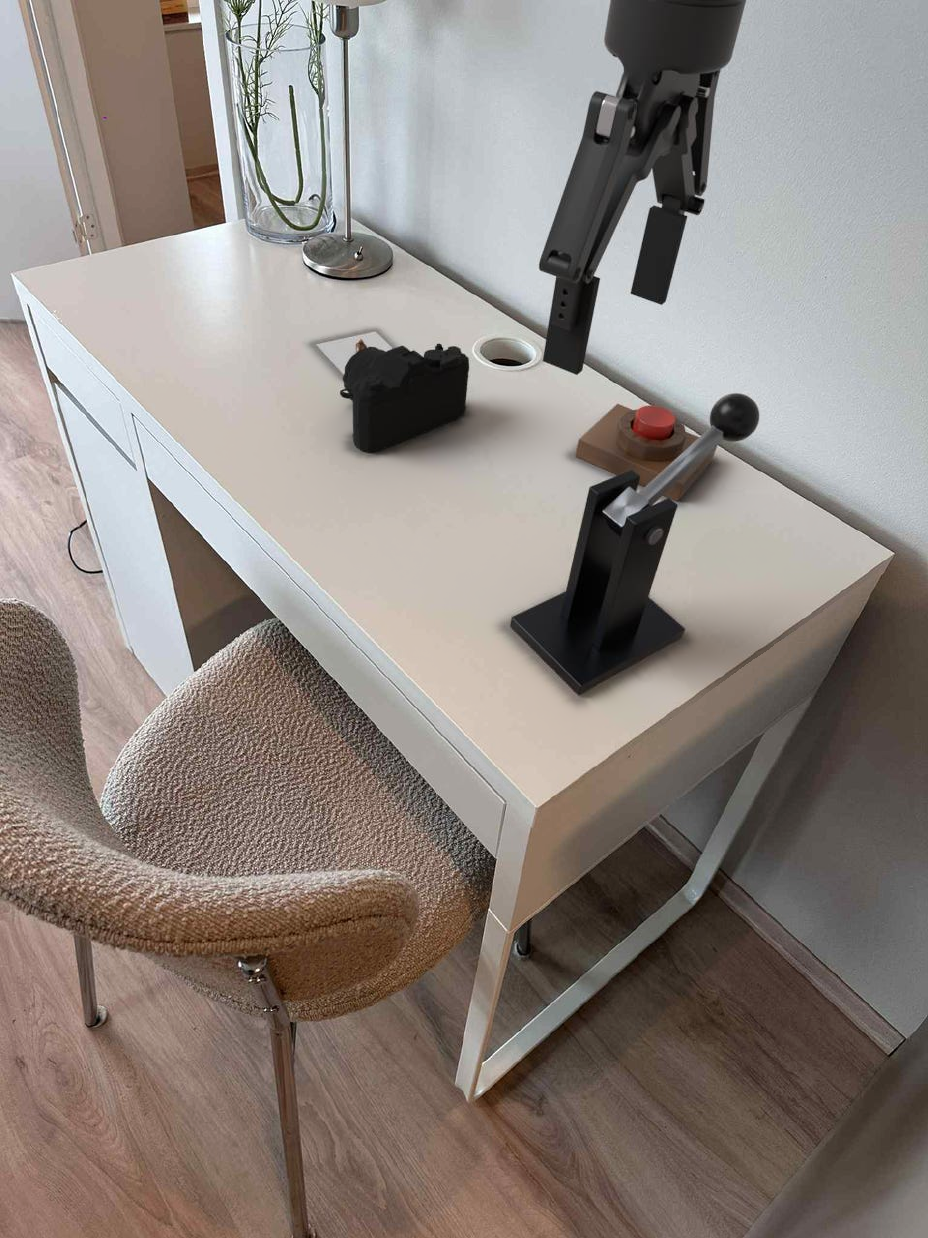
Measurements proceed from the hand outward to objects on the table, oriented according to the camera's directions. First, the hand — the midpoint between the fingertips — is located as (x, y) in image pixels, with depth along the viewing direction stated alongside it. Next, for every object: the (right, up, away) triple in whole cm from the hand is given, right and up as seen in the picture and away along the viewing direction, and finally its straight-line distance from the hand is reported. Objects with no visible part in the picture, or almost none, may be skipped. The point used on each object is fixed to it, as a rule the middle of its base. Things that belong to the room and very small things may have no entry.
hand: (607, 330), depth 65 cm
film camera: (-18, +1, +32) cm, 37 cm away
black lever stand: (+1, -22, +11) cm, 25 cm away
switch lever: (+7, -10, +4) cm, 13 cm away
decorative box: (-23, +10, +41) cm, 48 cm away
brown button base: (+9, -4, +30) cm, 31 cm away
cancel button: (+9, -1, +27) cm, 29 cm away
